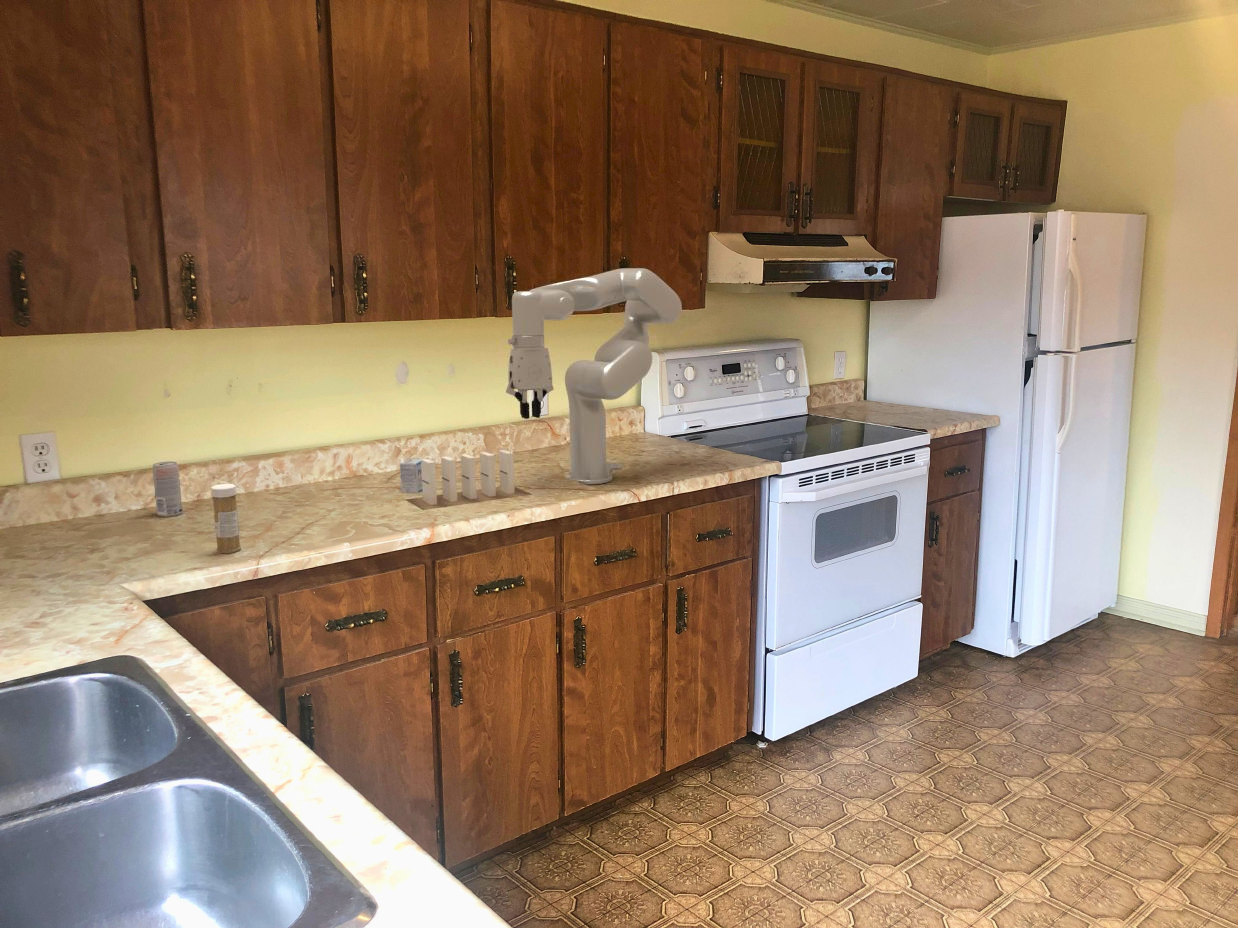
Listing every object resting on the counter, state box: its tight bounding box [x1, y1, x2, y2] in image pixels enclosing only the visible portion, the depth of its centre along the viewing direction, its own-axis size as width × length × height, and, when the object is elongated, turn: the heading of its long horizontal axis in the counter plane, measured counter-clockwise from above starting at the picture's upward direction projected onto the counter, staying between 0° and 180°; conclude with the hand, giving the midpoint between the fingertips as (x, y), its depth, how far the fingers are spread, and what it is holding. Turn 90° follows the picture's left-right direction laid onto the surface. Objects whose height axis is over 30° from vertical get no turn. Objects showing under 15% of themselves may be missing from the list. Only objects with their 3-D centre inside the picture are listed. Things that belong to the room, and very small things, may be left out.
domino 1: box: [421, 458, 438, 505], centre depth 226 cm, size 2×5×10 cm, turn 31°
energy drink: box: [151, 461, 183, 518], centre depth 222 cm, size 5×5×12 cm
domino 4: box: [479, 451, 497, 497], centre depth 234 cm, size 2×5×10 cm, turn 32°
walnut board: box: [404, 485, 533, 511], centre depth 233 cm, size 28×12×1 cm, turn 122°
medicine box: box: [399, 457, 429, 494], centre depth 240 cm, size 8×4×9 cm, turn 168°
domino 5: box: [498, 449, 515, 494], centre depth 237 cm, size 2×5×10 cm, turn 32°
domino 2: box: [440, 456, 458, 502], centre depth 229 cm, size 2×5×10 cm, turn 32°
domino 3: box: [460, 453, 477, 499], centre depth 232 cm, size 2×5×10 cm, turn 32°
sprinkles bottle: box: [210, 483, 242, 554], centre depth 192 cm, size 5×5×14 cm
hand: (530, 417), depth 238 cm, fingers closed
